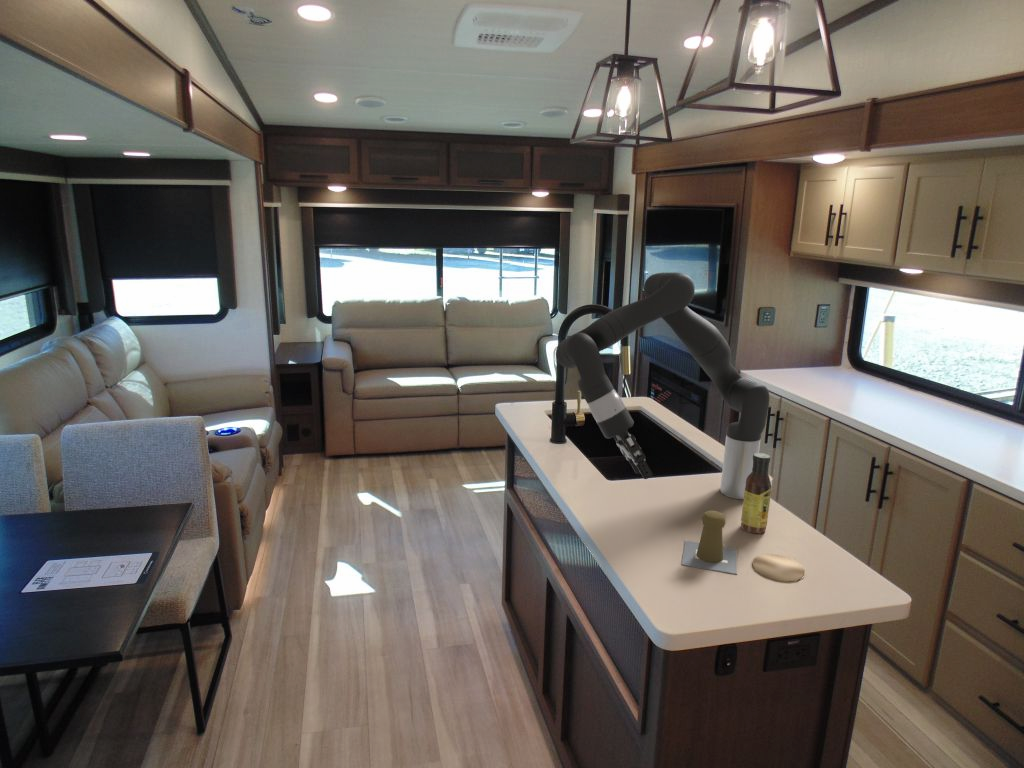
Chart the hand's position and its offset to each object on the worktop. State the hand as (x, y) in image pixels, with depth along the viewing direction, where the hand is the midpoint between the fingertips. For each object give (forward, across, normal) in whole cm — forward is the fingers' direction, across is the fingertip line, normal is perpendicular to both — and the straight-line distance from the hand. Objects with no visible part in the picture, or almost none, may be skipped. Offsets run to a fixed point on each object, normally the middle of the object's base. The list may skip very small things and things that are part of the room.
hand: (644, 474), depth 154 cm
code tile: (+25, +2, -4) cm, 25 cm away
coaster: (+33, -2, -16) cm, 37 cm away
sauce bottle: (+30, +16, -20) cm, 39 cm away
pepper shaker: (+25, +2, -4) cm, 25 cm away
